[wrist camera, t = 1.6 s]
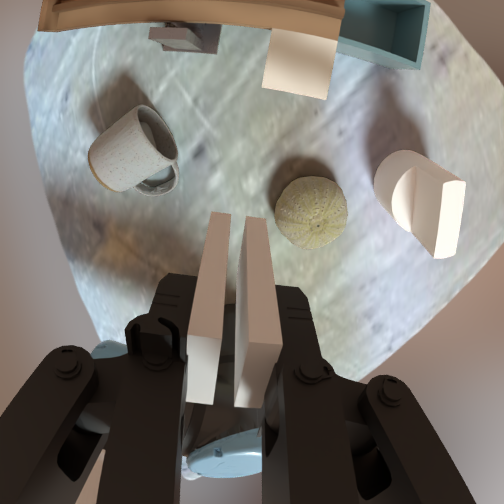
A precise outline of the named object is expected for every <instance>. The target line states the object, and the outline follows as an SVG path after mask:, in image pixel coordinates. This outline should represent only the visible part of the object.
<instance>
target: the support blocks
mask: <svg viewBox="0 0 504 504" xmlns="http://www.w3.org/2000/svg"><path fill="white" fill-rule="evenodd" d="M221 28H222V24H210V23H187V22H168V23H167V27H150V32H149V38H148V39H150V40H153V41H156V42H159V43H161V44H164V48H163V51H177V52H194V53H206V54H217V51H218V45H219V40H220V34H221Z"/></svg>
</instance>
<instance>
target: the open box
mask: <svg viewBox="0 0 504 504" xmlns="http://www.w3.org/2000/svg"><path fill="white" fill-rule="evenodd" d="M430 4H431V3H430V2H428V1H426V0H345V4H344V9H345V14H344V18H343V19H342V21H341V26H340V32H339V37H338V43H337V48H336V52H337V53H341V54H344V55H348V56H351V57H355V58H358V59H361V60H365V61H368V62H371V63H374V64H377V65H380V66H383V67H386V68H389V69H407V70H420V68H421V62H422V57H423V51H424V45H425V39H426V33H427V26H428V19H429V12H430Z"/></svg>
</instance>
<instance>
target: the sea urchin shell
mask: <svg viewBox="0 0 504 504" xmlns="http://www.w3.org/2000/svg"><path fill="white" fill-rule="evenodd" d="M347 216H348V211H347V203H346V199H345V197H344V194H343V192H342V189H341V188H340V187H339V186H338V185H337V184H336V183H335V182H333V181H331V180H329V179H327V178H325V177H316V176H308V177H301V178H297V179H295V180H294V181H292V182H291V183H290V184H289V185H288V186H287V187H286V188H285V189H284V190H283V192H282V194H281V196H280V198H279V199H278V201H277V203H276V209H275V216H274V217H275V221H276V222H275V223H276V225H277V227H278V228H279V230H280V231H281V233H282V234H283V235H284V236H285V237H286V238H287V239H288V240H289V241H290V242H291V243H293V244H295V245H296V246H298V247H300V248H302V249H309V250H311V249H314V248H319V247H323V246H324V245H326V244H328V243H330V242H332V241H334V239H336V238H337V237H338V236H339V235H340V234H342V232H343V230H344V228H345V226H346V221H347Z"/></svg>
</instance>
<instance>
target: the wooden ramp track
mask: <svg viewBox="0 0 504 504" xmlns="http://www.w3.org/2000/svg"><path fill="white" fill-rule="evenodd" d="M344 4H345V0H43V2H42V7H41V13H40V18H39V24H38V31H44V32H61V31H67V30H73V29H80V28H87V27H96V26H105V25H116V24H130V23H152V22H187V23H210V24H224V25H236V26H245V27H254V28H261V29H269V30H272V33H271V38H270V44H269V49H268V55H267V60H266V66H265V71H264V77H263V83H262V88H268V89H274V90H280V91H285V92H290V93H295V94H300V95H305V96H310V97H314V98H319V99H323V100H326V99H327V94H328V89H329V84H330V79H331V74H332V69H333V64H334V59H335V53H336V48H337V43H338V37H339V32H340V26H341V21H342V19H343V18H344V14H345V9H344Z"/></svg>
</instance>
